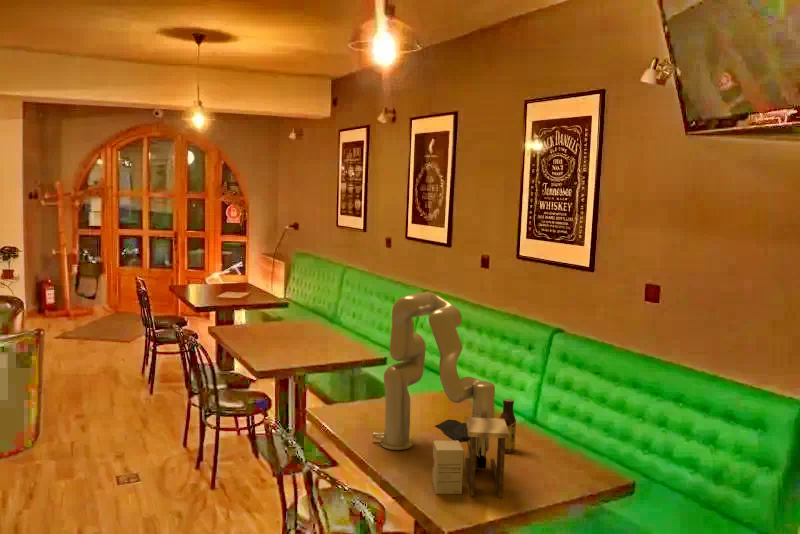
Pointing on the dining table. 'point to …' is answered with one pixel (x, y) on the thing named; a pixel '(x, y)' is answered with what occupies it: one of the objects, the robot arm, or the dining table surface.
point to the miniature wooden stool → (500, 431)
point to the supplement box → (447, 467)
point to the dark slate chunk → (454, 430)
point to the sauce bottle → (509, 424)
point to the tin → (469, 454)
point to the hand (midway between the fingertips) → (481, 467)
